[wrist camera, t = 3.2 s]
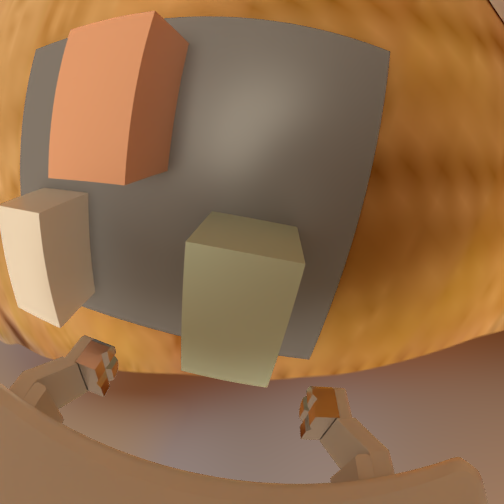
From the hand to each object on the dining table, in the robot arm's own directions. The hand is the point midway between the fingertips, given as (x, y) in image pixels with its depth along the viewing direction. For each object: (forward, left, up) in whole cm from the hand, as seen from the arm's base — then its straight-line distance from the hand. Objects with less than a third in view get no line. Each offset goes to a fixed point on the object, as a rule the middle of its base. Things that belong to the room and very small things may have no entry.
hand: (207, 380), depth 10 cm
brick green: (-1, 0, -8) cm, 8 cm away
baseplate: (+6, -5, -9) cm, 12 cm away
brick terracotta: (+7, -10, -8) cm, 15 cm away
